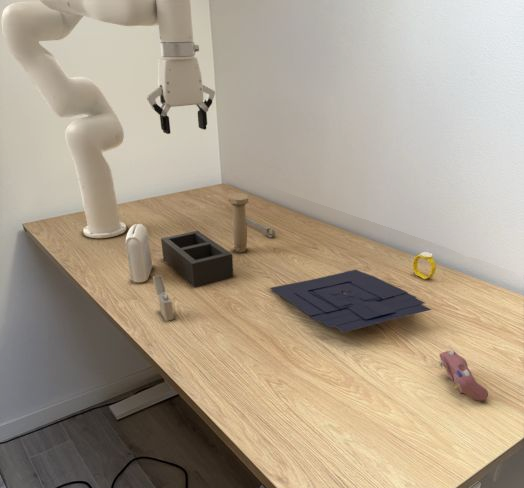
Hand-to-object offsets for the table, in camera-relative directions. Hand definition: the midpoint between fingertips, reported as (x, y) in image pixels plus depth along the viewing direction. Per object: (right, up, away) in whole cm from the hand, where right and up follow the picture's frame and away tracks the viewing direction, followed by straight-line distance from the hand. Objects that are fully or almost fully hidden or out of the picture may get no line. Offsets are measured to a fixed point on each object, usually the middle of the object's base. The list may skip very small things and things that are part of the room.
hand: (185, 130), depth 127 cm
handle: (+13, -28, +13) cm, 33 cm away
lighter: (-2, -47, -16) cm, 49 cm away
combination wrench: (+17, -18, +28) cm, 37 cm away
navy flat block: (+38, -45, -15) cm, 61 cm away
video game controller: (+53, -61, -39) cm, 90 cm away
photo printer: (-11, -36, +1) cm, 37 cm away
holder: (+3, -34, +4) cm, 34 cm away
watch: (+58, -37, -3) cm, 69 cm away
